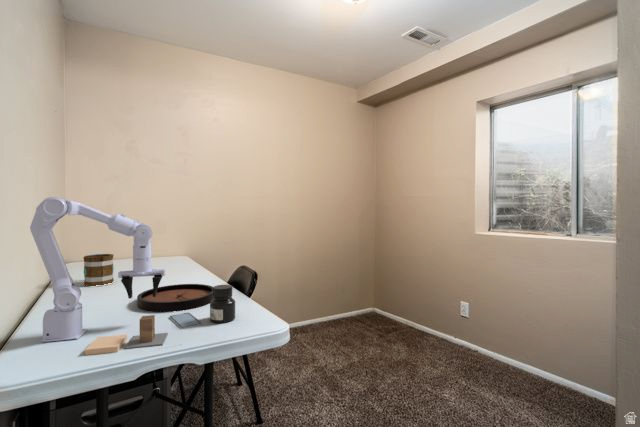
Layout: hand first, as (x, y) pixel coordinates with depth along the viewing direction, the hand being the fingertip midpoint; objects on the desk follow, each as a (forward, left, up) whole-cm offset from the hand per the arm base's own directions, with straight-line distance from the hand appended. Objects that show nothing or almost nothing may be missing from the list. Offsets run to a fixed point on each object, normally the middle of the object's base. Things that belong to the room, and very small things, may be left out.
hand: (142, 296), depth 116 cm
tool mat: (+5, -17, -9) cm, 20 cm away
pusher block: (+5, -17, -9) cm, 20 cm away
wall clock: (+8, +27, -10) cm, 30 cm away
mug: (-38, +74, -10) cm, 84 cm away
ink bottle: (+27, -3, -10) cm, 29 cm away
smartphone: (+14, -1, -10) cm, 17 cm away
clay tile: (-5, -14, -9) cm, 17 cm away
